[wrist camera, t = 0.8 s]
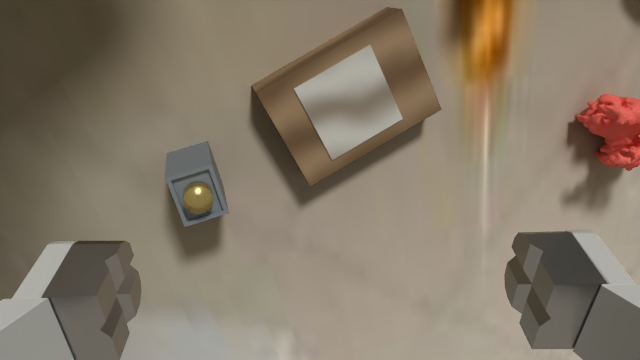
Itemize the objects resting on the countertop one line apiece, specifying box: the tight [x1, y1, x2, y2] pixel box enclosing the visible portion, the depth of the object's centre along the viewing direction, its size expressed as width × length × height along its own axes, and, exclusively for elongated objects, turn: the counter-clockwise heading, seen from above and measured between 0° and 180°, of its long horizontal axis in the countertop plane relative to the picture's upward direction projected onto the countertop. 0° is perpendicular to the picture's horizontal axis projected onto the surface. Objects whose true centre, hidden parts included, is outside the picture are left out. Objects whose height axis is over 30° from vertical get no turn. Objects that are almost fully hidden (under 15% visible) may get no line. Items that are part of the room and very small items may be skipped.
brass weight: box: [183, 181, 213, 214], centre depth 48 cm, size 3×3×2 cm
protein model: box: [576, 94, 640, 171], centre depth 62 cm, size 9×12×12 cm
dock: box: [252, 7, 441, 186], centre depth 54 cm, size 12×17×4 cm
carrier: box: [165, 141, 229, 227], centre depth 51 cm, size 6×4×8 cm
